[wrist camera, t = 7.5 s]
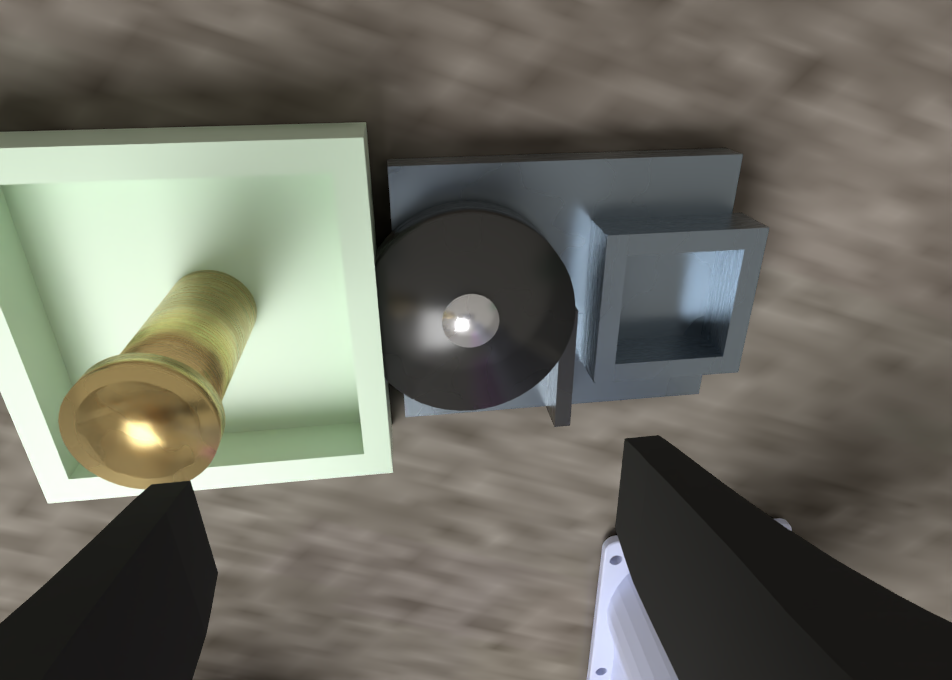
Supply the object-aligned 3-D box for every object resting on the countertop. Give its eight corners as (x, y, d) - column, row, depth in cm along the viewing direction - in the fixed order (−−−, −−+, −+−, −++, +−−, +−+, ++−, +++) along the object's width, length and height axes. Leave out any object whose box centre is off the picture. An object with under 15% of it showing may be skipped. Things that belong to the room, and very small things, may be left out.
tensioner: (694, 378, 22) (728, 417, 20) (370, 403, 21) (368, 448, 19) (735, 147, 18) (782, 164, 16) (345, 160, 17) (339, 181, 15)
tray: (391, 425, 21) (392, 472, 19) (84, 450, 20) (47, 503, 18) (366, 122, 17) (363, 137, 15) (-34, 132, 16) (-102, 151, 14)
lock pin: (275, 351, 19) (231, 482, 13) (171, 358, 18) (84, 495, 13) (258, 256, 17) (201, 362, 12) (145, 262, 17) (35, 373, 12)
